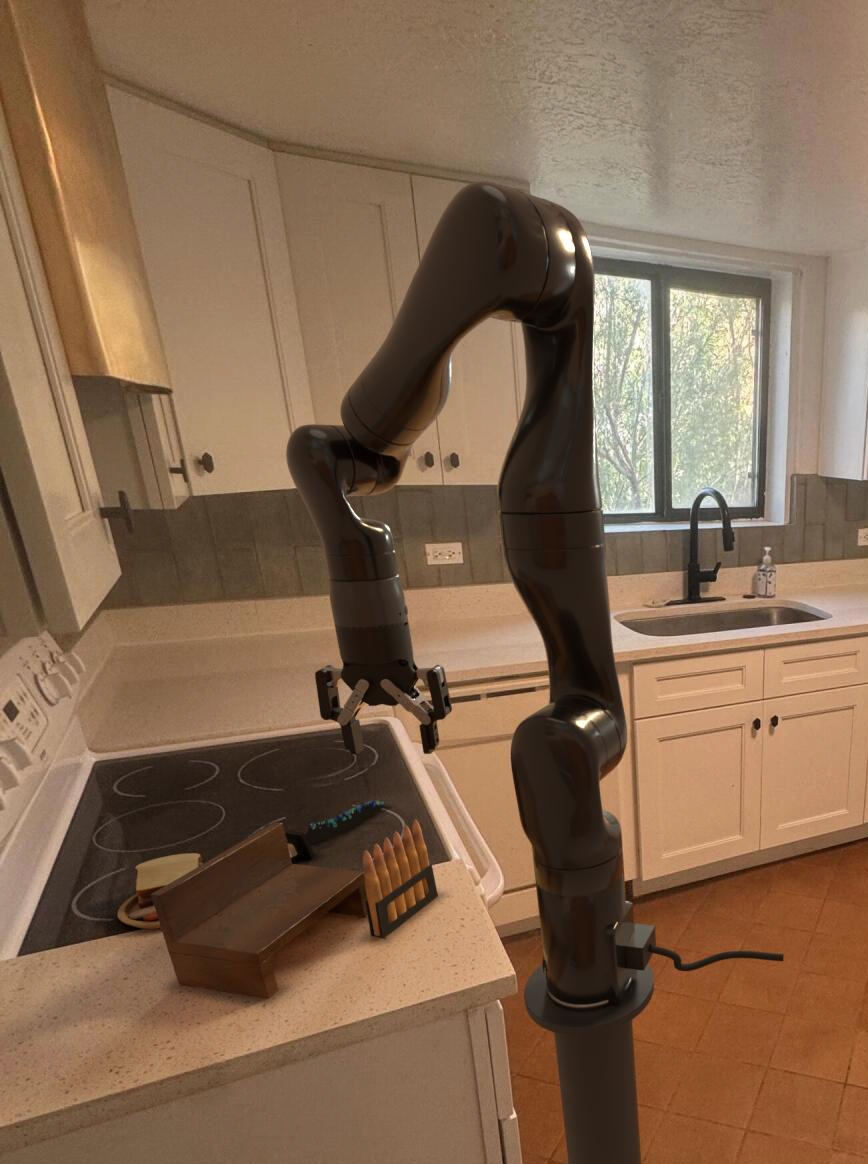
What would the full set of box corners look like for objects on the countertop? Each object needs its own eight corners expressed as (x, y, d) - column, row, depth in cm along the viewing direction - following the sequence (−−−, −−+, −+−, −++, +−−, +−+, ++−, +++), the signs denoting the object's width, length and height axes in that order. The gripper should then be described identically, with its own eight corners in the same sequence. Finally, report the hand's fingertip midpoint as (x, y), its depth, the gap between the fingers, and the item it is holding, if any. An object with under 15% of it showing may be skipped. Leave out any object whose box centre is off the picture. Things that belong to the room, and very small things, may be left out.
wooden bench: (372, 911, 104) (356, 830, 100) (268, 998, 87) (244, 906, 83) (293, 901, 106) (274, 822, 102) (178, 984, 90) (150, 894, 85)
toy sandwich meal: (108, 942, 97) (96, 909, 95) (134, 890, 109) (124, 860, 107) (226, 918, 102) (217, 887, 100) (239, 871, 114) (231, 842, 112)
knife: (236, 893, 106) (232, 862, 104) (219, 889, 106) (215, 858, 105) (399, 819, 134) (398, 795, 133) (385, 817, 135) (383, 792, 133)
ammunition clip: (382, 939, 98) (366, 855, 94) (370, 936, 98) (353, 852, 94) (438, 895, 107) (425, 817, 103) (427, 893, 108) (414, 815, 104)
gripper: (289, 624, 84) (318, 764, 89) (423, 624, 84) (443, 763, 90) (322, 610, 91) (347, 741, 96) (446, 610, 91) (464, 740, 97)
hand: (394, 751), depth 93 cm, fingers open, 8 cm apart
